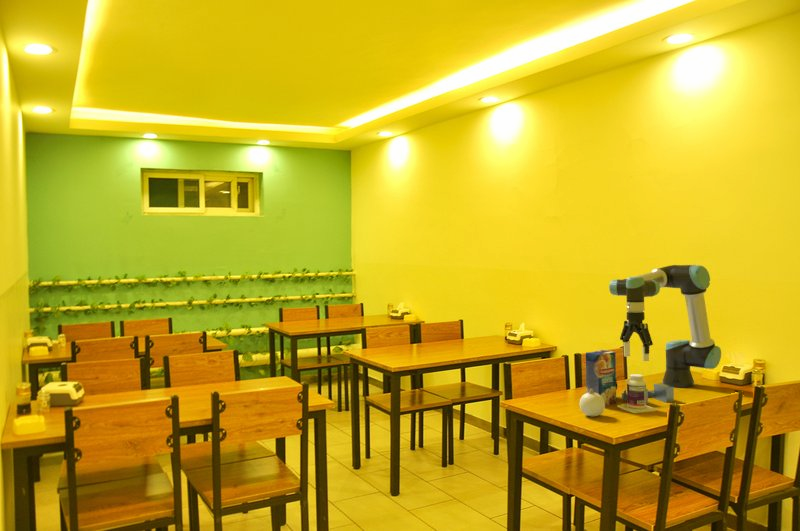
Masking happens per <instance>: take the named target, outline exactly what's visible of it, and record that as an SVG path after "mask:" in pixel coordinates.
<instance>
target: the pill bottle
mask: <svg viewBox="0 0 800 531" xmlns="http://www.w3.org/2000/svg"><path fill="white" fill-rule="evenodd" d="M646 389H647V382H646V381H645V380H644V375H643V374H639V373H638V374H637V373H631V374H629V379H628V380H627V382H626V393H627V400H626V404H627V405H628V406H629V407H630V408H636V409H642V408H645V407H646V405H647V404H646Z"/></svg>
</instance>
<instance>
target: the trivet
mask: <svg viewBox="0 0 800 531" xmlns="http://www.w3.org/2000/svg"><path fill="white" fill-rule="evenodd" d="M616 407H617V408H618V409H621V410H624V411H625V412H628V413H629V412H630V413H631V414H640V413H649V412H657V410H658V408H655V407H652V406H649V405H648V404H646V407H645V408H642V409H636V408H630V407H629V406H628V405H627V403H626V404H617V405H616Z"/></svg>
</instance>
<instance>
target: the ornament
mask: <svg viewBox="0 0 800 531" xmlns="http://www.w3.org/2000/svg"><path fill="white" fill-rule="evenodd" d="M579 408H580V411H582V413H583V414H584V415H586V416H588V417H591V418H592V417H598V416H601V415H602V414H603V413H604V411H605V409H606V406H605V402H604V399H603V398H602V396H601V395H599V394H597V393H594V391H593V389H590V391H589V393H586V392H585V393H584V394H582V396H581V397H580V400H579Z"/></svg>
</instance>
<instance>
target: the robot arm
mask: <svg viewBox="0 0 800 531" xmlns="http://www.w3.org/2000/svg"><path fill="white" fill-rule="evenodd" d="M709 273H710V272H709V271H708V269H707V268H706V267H705V266H703V265H699V264H698V265H697V264H673V265H667V266H662V267H659V268H655V269H653V270H651V272H648V273H644V274H639V275H636V276H628V277H627V278H624V279H620V278H619V279H617V278H616V279H613V280H611V281H610V282H609V285H608V290H609V293H610V294H611V295H613V296H621V297H622V296H623V297H625V296H626V320H624V321H623V328H622V332H620V337H619V340H620V341H622V343H623V357H624V358H625V357H631V342H630V339H631V338H632V336H633V334H634V333H636V334H637V335H638V336H639V339H640V342H641V343H642V349H641V350H642V353H641V354H642V362H650V347H651V346H653V345H654V343H653V339H652V337H651V334H650V331H649V326H648V323H643V321H644V320H645V312H644V311H645V298H649V297H650V298H651V297H654V296H657V295H658V294H659V293H660V291H661V288H670V289H671V288H672V289H679V290H680V293H681V295H683V296H684V298H685V305H686V311H687V317H688V325H689V330H690V336H691V340H690V339H689V340H688V339H681V340H680V339H679V340H671V341H668V342H666V344H665V372H664V375H663V378H662V384H666V385H669V386H672V387H675V388H692V387H694V386H695V381H694V378H693V375H692V372H691V367H694V368H700V369H706V370H707V369H711V370H713V369H715V368H717V367H718V366H719V365H720V362H721V360H722V359H721V358H722V350H721V349H722V348H720V346H718V345H715V341H714V339H713V338H711V332H710V326H709V320H708V313H707V306H706V301H705V293H706V292H707V290H708V288H709V287H710V285H711V284H710V281H711V276H710V274H709Z"/></svg>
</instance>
